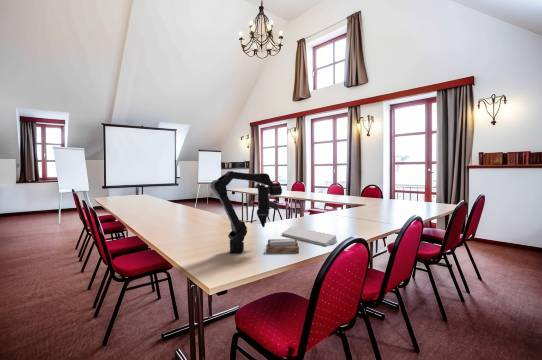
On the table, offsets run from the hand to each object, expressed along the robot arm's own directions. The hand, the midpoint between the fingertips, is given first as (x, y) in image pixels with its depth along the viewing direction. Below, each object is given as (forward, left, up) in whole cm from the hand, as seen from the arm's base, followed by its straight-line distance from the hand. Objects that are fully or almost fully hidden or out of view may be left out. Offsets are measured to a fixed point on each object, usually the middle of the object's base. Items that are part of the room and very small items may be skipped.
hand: (263, 225), depth 148 cm
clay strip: (+10, -7, -11) cm, 16 cm away
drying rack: (+10, -3, -12) cm, 16 cm away
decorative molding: (+25, +16, -13) cm, 33 cm away
